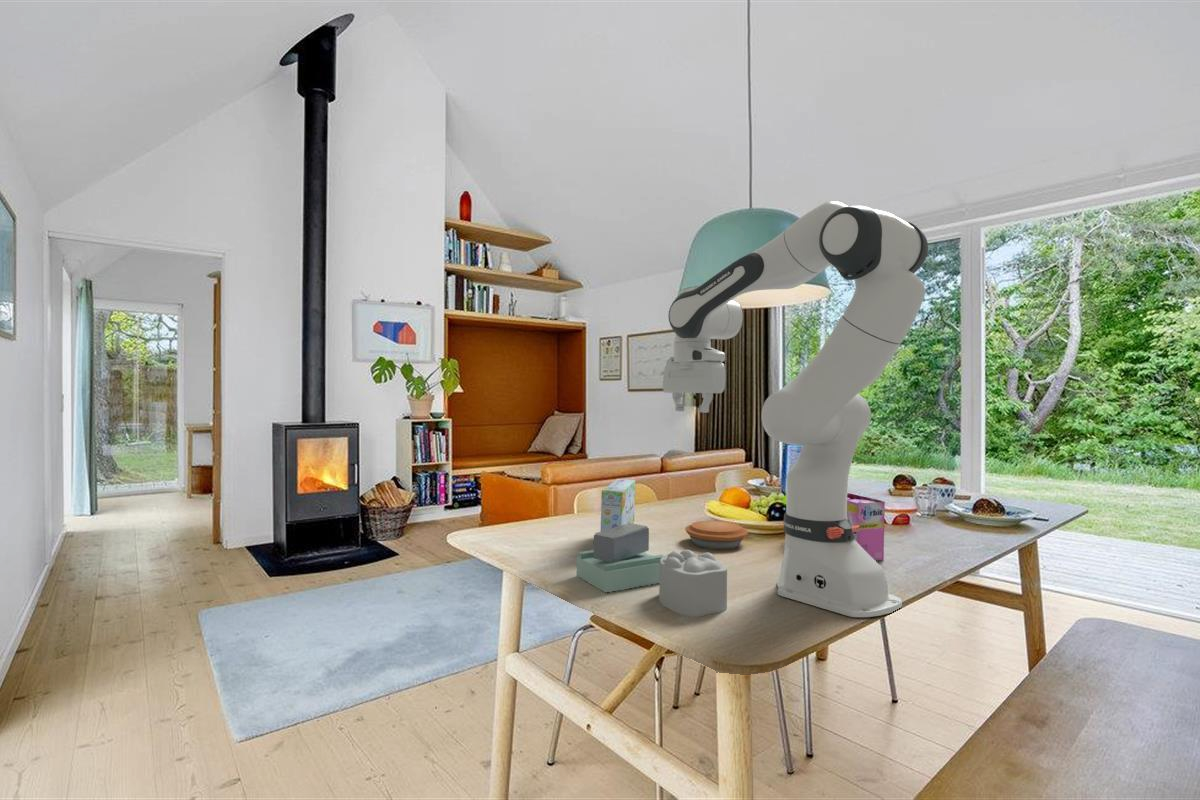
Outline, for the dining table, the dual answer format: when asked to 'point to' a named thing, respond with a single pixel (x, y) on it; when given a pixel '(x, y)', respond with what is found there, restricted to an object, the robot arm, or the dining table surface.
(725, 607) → the grey lumpy block
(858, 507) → the gum box
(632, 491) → the snack box
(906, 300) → the robot arm
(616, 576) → the stand
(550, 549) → the dining table surface
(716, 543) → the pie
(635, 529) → the block
